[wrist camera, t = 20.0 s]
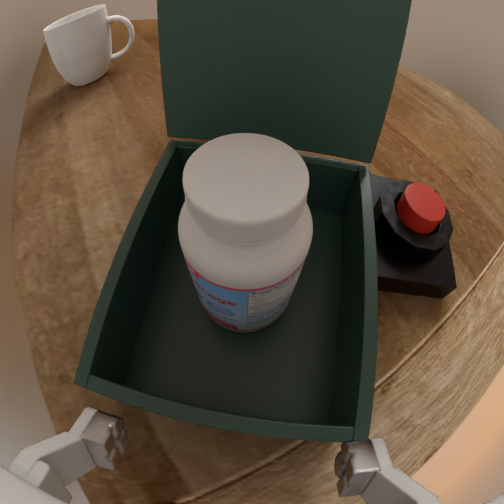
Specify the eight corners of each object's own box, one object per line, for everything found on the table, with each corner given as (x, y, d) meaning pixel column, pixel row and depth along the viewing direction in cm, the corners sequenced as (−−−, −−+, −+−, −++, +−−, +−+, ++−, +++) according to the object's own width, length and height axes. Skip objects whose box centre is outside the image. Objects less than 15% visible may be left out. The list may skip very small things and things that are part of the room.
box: (334, 435, 16) (368, 442, 11) (116, 393, 17) (73, 383, 12) (348, 213, 25) (368, 165, 20) (182, 189, 26) (170, 139, 21)
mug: (140, 52, 44) (130, -6, 33) (139, 73, 39) (126, 2, 27) (68, 75, 42) (52, 21, 30) (56, 101, 36) (33, 37, 25)
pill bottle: (185, 276, 21) (140, 154, 11) (260, 239, 22) (269, 108, 13) (228, 351, 18) (204, 275, 8) (307, 305, 20) (362, 194, 10)
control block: (442, 298, 21) (469, 277, 17) (356, 287, 21) (376, 261, 18) (427, 204, 26) (444, 177, 22) (354, 188, 26) (366, 157, 23)
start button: (438, 238, 19) (450, 225, 18) (399, 230, 20) (409, 215, 18) (431, 202, 21) (440, 188, 20) (393, 192, 21) (401, 178, 20)
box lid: (420, -81, 5) (399, -69, 8) (158, -101, 6) (186, -88, 9) (371, 164, 19) (362, 134, 22) (167, 137, 20) (188, 112, 23)
